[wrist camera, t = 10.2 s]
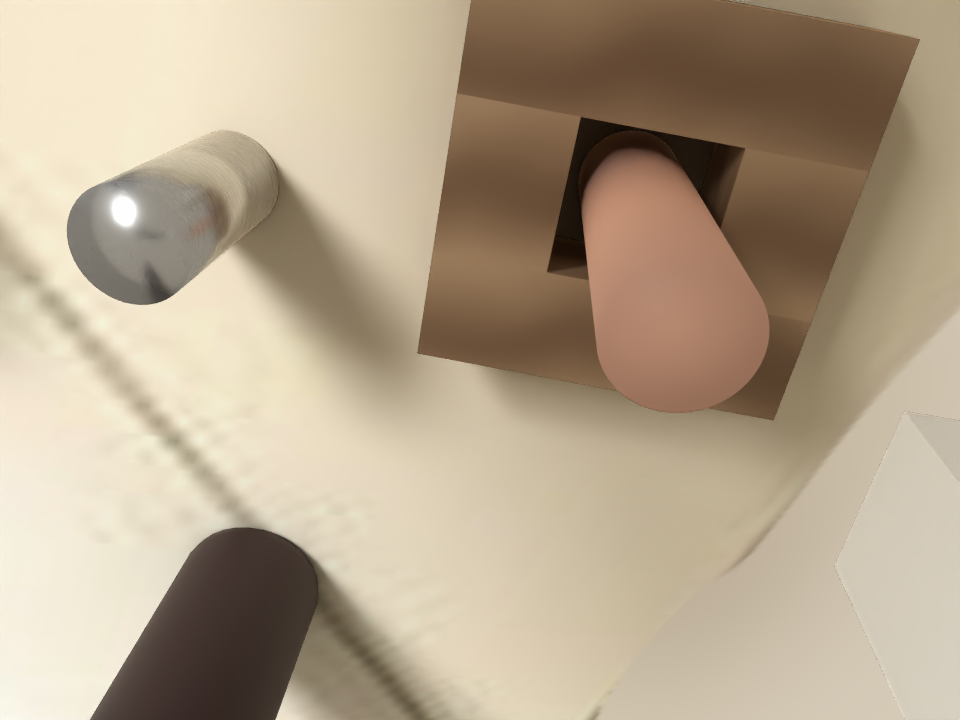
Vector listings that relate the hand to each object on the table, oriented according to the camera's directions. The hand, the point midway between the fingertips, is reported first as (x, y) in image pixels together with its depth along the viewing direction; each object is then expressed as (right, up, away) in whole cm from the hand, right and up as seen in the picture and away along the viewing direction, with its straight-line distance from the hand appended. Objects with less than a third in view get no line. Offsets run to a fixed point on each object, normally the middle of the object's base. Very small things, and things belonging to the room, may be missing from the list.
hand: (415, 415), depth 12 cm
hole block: (+7, +8, +21) cm, 24 cm away
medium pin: (-9, +8, +23) cm, 26 cm away
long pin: (+7, +8, +21) cm, 24 cm away
